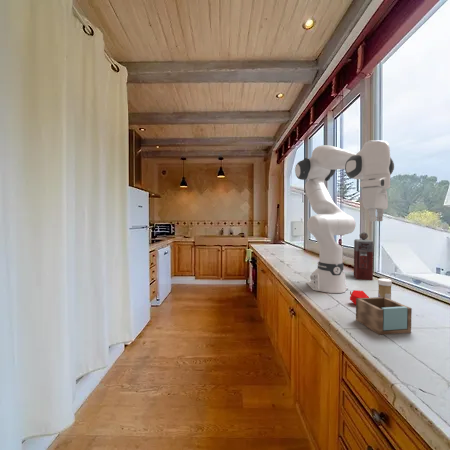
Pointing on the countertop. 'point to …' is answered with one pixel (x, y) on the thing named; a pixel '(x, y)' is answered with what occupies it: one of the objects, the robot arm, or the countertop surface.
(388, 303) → the crate
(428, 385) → the countertop surface
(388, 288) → the sprinkles bottle
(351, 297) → the apple
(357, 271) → the toy vending machine
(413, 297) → the countertop surface
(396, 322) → the panel
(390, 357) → the countertop surface
